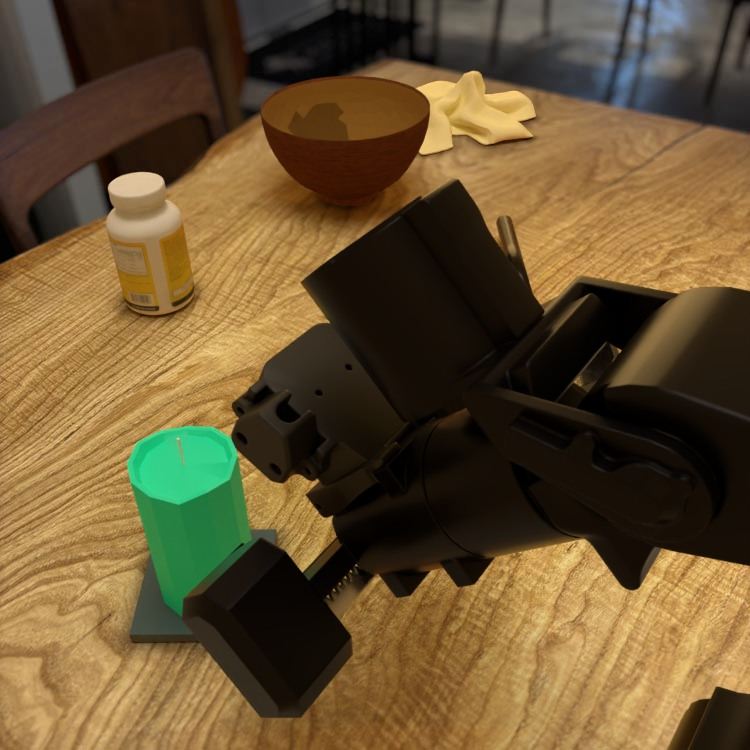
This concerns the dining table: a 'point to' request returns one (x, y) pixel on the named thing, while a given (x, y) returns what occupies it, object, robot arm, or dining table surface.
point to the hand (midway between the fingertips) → (285, 543)
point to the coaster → (167, 607)
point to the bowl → (346, 134)
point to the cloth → (473, 113)
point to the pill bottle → (149, 245)
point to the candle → (188, 504)
